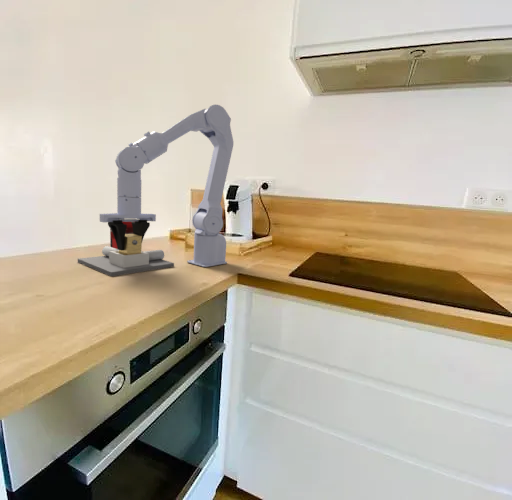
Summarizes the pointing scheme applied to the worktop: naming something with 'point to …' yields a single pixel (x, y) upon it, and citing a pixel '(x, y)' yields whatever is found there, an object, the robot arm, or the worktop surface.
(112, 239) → the canned food
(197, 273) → the worktop surface
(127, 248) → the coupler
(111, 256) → the shaft board
